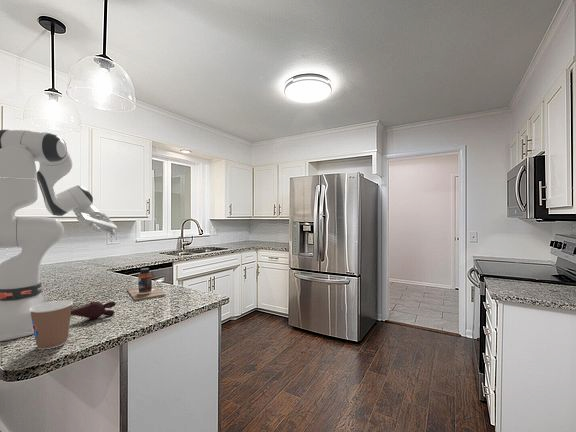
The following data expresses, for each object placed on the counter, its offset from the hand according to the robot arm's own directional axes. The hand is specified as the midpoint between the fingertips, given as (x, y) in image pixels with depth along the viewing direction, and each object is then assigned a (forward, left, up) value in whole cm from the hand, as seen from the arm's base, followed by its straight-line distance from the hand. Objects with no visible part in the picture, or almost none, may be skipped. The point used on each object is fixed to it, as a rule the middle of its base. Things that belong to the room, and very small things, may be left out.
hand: (106, 232), depth 141 cm
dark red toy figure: (-38, +8, -31) cm, 49 cm away
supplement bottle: (-12, -15, -30) cm, 35 cm away
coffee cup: (-55, +19, -31) cm, 66 cm away
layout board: (-12, -15, -30) cm, 36 cm away
